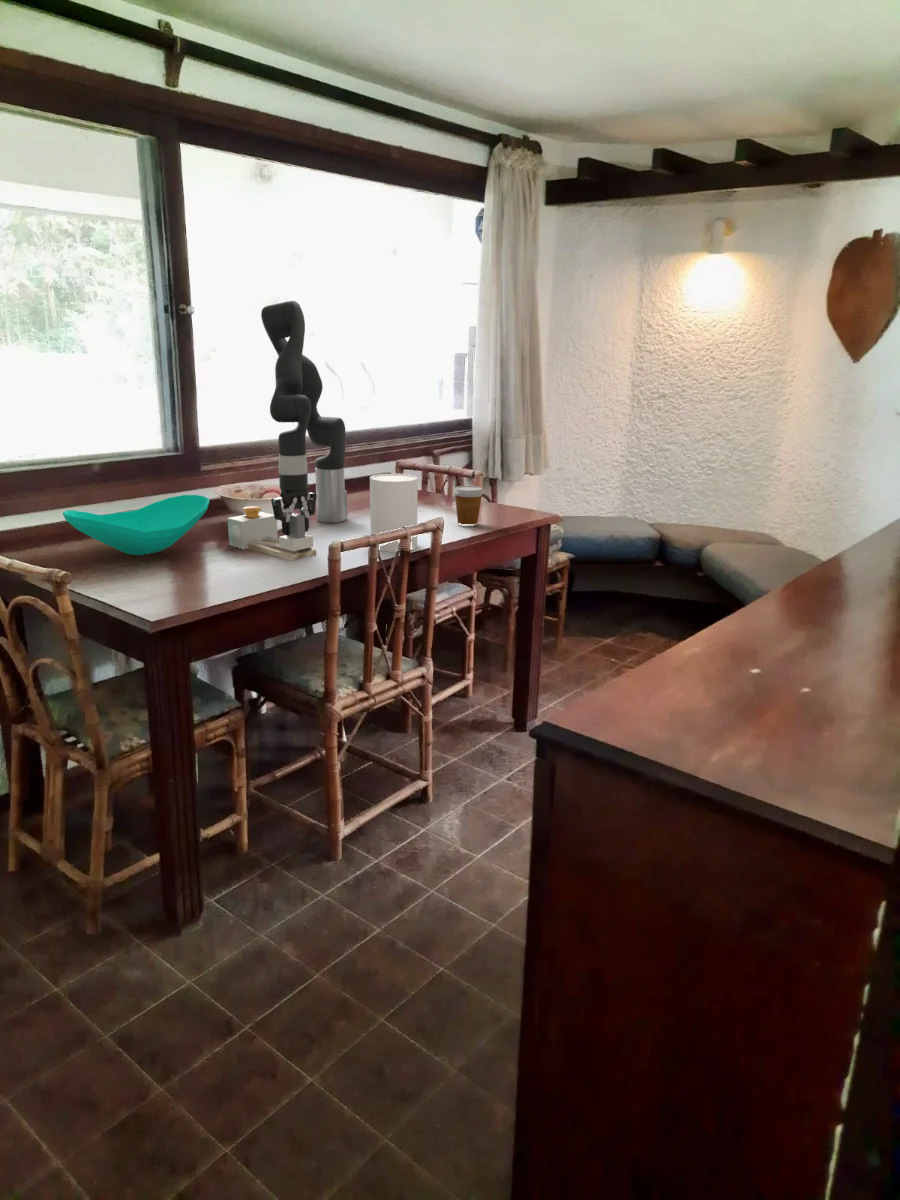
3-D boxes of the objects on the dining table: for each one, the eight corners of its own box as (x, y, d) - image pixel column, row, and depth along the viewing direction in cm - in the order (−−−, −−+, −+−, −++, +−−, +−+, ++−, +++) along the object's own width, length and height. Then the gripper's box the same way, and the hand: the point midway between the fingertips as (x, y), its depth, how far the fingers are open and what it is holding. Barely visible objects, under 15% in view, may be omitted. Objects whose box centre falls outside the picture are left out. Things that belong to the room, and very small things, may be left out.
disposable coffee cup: (448, 526, 268) (449, 489, 265) (459, 520, 277) (460, 484, 273) (476, 529, 265) (477, 491, 261) (486, 523, 273) (487, 487, 270)
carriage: (299, 543, 233) (298, 511, 230) (313, 546, 229) (312, 514, 227) (279, 547, 228) (277, 515, 225) (293, 551, 224) (291, 518, 222)
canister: (373, 539, 249) (372, 473, 243) (418, 541, 248) (419, 474, 242) (367, 551, 236) (367, 481, 230) (415, 552, 236) (415, 482, 229)
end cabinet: (263, 538, 248) (261, 511, 246) (278, 542, 244) (276, 515, 241) (228, 545, 239) (226, 518, 237) (242, 549, 235) (240, 522, 232)
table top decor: (184, 532, 253) (180, 489, 249) (233, 549, 235) (230, 503, 231) (50, 554, 226) (44, 506, 222) (94, 575, 208) (88, 523, 204)
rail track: (273, 543, 243) (273, 535, 242) (316, 554, 231) (316, 546, 230) (248, 548, 236) (247, 540, 236) (290, 560, 224) (290, 552, 224)
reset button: (254, 517, 243) (253, 505, 242) (264, 520, 240) (264, 508, 239) (240, 520, 239) (239, 508, 238) (250, 522, 236) (249, 510, 235)
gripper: (305, 467, 230) (307, 526, 235) (262, 472, 220) (265, 535, 225) (323, 470, 225) (324, 531, 230) (280, 476, 215) (283, 539, 220)
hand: (295, 532), depth 228 cm, fingers open, 5 cm apart
